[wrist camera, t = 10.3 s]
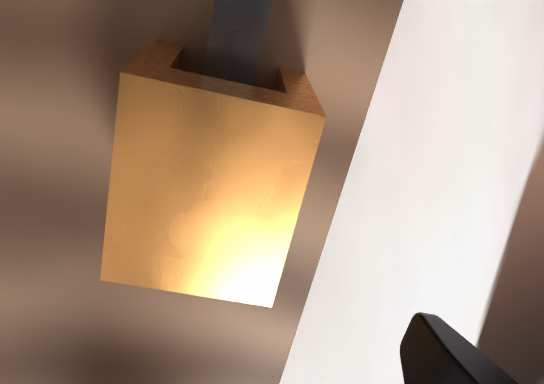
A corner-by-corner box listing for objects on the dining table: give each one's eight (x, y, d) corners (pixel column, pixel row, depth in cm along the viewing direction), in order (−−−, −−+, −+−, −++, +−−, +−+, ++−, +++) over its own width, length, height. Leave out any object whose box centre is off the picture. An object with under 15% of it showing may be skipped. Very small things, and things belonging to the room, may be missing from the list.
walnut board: (260, 417, 25) (261, 437, 24) (-44, 379, 23) (-59, 399, 22) (559, -530, 12) (591, -580, 11) (-119, -826, 10) (-166, -925, 9)
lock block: (266, 223, 19) (271, 307, 14) (136, 200, 18) (99, 280, 14) (305, 72, 16) (326, 116, 12) (156, 39, 16) (120, 72, 11)
